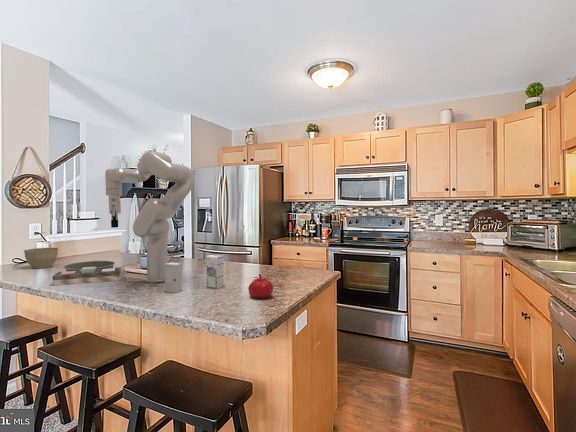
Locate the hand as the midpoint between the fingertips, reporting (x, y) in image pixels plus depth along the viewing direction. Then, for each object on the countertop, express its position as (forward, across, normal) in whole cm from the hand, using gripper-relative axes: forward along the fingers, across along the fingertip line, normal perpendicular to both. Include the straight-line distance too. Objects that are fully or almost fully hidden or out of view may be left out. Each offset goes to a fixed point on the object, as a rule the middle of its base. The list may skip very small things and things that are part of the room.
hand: (114, 227), depth 165 cm
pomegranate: (+26, -70, -56) cm, 93 cm away
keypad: (+26, -8, +11) cm, 29 cm away
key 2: (+23, -8, +3) cm, 24 cm away
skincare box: (+26, -46, -25) cm, 58 cm away
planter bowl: (+25, +44, +42) cm, 66 cm away
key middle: (+21, -8, +11) cm, 25 cm away
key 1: (+23, -8, +20) cm, 31 cm away
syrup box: (+26, -46, -43) cm, 68 cm away
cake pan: (+26, +16, +14) cm, 33 cm away
